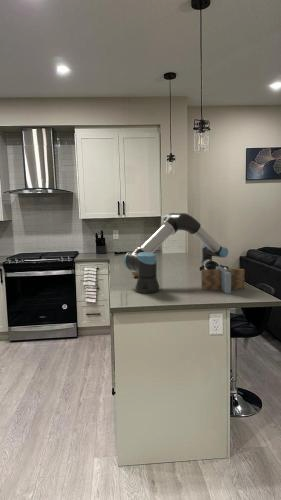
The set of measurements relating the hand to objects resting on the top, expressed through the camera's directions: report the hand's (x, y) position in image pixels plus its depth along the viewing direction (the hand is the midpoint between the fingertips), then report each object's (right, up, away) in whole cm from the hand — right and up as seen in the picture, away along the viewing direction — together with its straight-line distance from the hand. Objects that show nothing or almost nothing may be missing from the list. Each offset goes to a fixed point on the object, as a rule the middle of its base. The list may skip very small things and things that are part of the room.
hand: (216, 270), depth 210 cm
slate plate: (0, -10, -15) cm, 18 cm away
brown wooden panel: (0, -10, -15) cm, 18 cm away
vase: (-53, -6, +26) cm, 59 cm away
